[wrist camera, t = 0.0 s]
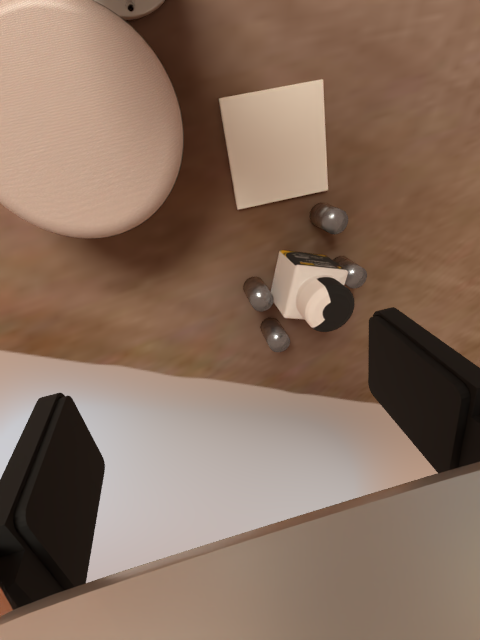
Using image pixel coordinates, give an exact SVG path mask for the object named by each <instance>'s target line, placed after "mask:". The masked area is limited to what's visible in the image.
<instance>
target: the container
mask: <svg viewBox="0 0 480 640" xmlns="http://www.w3.org/2000/svg"><path fill="white" fill-rule="evenodd" d="M183 149H184V130H183V120H182V115H181V109H180V105H179V102H178V98H177V95H176V92H175V90H174V87H173V84H172V82H171V80H170V78H169V76H168V74H167V72H166V70H165V68H164V66H163V64H162V63H161V61H160V60H159V58H158V56H157V55H156V54H155V52H154V51H153V49H152V48H151V47H150V45H149V44H148V43H147V42H146V41H145V40H144V38H143V37H142V36H141V35H140V34H139V33H138V32H137V31H136V30H135V29H134V28H133V27H132V26H131V25H130V24H129V23H128V22H126V21H125V20H124V19H123V18H121V17H120V16H119V15H117V14H116V13H115V12H113V11H112V10H110V9H108V8H107V7H105V6H104V5H102V4H100V3H98V2H96V1H94V0H0V203H1V204H2V205H3V206H5V207H6V208H7V209H8V210H10V211H11V212H13V213H14V214H15V215H17V216H18V217H20V218H22V219H24V220H25V221H27V222H29V223H31V224H33V225H35V226H37V227H39V228H41V229H44V230H47V231H50V232H52V233H56V234H59V235H64V236H68V237H75V238H87V239H93V238H104V237H111V236H115V235H118V234H122V233H124V232H127V231H129V230H131V229H133V228H135V227H137V226H139V225H141V224H142V223H143V222H145V221H146V220H148V219H149V218H150V217H151V216H152V215H153V214H155V213H156V212H157V210H158V209H159V208H160V207H161V206H162V205H163V203H164V202H165V201H166V199H167V198H168V196H169V195H170V193H171V191H172V189H173V187H174V185H175V183H176V180H177V178H178V174H179V171H180V168H181V163H182V158H183Z"/></svg>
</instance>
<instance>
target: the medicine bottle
mask: <svg viewBox="0 0 480 640" xmlns="http://www.w3.org/2000/svg"><path fill="white" fill-rule="evenodd" d="M347 275H348V271H347V270H346V269H344V268H343V267H341V266H340V265H339V264H337V263H336V262H334V261H333V260H331V259H330V258H328V257H327V256H325V255H318V254H310V253H301V252H293V251H285V250H281V251H280V252H279V255H278V260H277V265H276V269H275V274H274V278H273V283H272V288H271V293H272V295H273V297H274V301H273V302H274V304H275V305H276V306H277V308H278V309H279V311H280V312H281V314H282V315H283V316H284V318H292V319H305V320H306V322H307V323H308V324H309V325H310V326H311V327H312V328H313V329H315V330H317V331H321V332H329V331H333V330H335V329H338V328H339V327H341V326H342V325H344V324H345V323H346V322H347V321H348V319H349V318H350V316H351V315H352V312H353V309H354V297H353V295H352V293H351V292H350V290H349V289H348V288H346V287H345V286H344V284H345V281H346V278H347Z"/></svg>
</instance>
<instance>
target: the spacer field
mask: <svg viewBox="0 0 480 640" xmlns="http://www.w3.org/2000/svg"><path fill="white" fill-rule="evenodd" d="M310 220H311V222H312V223H313V224H314V225H316V226H318V227H320V228H321V229H323V230H325V231H327V232H329V233H331V234H339V233H341V232H342V231H343V230H344V229H345V228H346V226H347V224H348V216H347V214H346V212H345V211H343V210H341V209H339V208H336V207H333V206H331V205H328V204H325V203H318V204H316V205H315V206H313V208H312V209H311V211H310ZM333 261H334V262H336V263H337V264H339V265H340V266H341V267H343V268H344V269H346V270H347V271H348V275H347V278H346V281H345V284H346V285H347V286H349V287H350V288H358V287H360V286H362V285H363V284H364V282H365V281H366V278H367V272H366V270H365V269H364V268H362V267H361V266H359V265H357V264H356V263H354V262H353V261H351V260H349V259H348V258H346V257H344V256H339V257H336V258H335V259H334V260H333ZM243 290H244V292H245V294H246V296H247V298H248V299H249V301H250V303H251V305H252V307H253V308H254V309H255V310H257V311H266V310H268V309H269V308H270V307H271V306H272V304H273V301H274V297H273V295H272V293H271V292H270V291H269V289H268V288H267V286H266V285H265V284H264V282H263V281H262V280H261V279H260V278H258V277H251V278H249V279H247V280H246V281H245V283H244V285H243ZM260 329H261V332H262V334H263V335H264V337H265V339H266V341H267V343H268V345H269V347H270V348H271V350H272V351H274V352H282V351H284V350H286V349H287V348H288V346H289V344H290V338H289V337H288V335H287V334H286V332H285V331H284V329H283V327H282V326H281V324H280V323H279V321H278V320H277V319H275V318H267V319H265V320H264V321H263V322H262V323H261V326H260Z"/></svg>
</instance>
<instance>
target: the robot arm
mask: <svg viewBox="0 0 480 640" xmlns="http://www.w3.org/2000/svg"><path fill="white" fill-rule="evenodd" d="M94 1H96V2H98V3H100V4H102V5H104V6H105V7H107V8H108V9H110V10H112V11H113V12H115V13H116V14H117V15H119V16H120V17H121V18H123V19H124V20H132V19H138V18H141V17H144V16H147V15H149V14H150V13H152V12H153V11H155V10H156V9H158V8H159V7H160V6H161V5H162V4H163V3H164V1H165V0H94ZM129 6H132V7H133V8H134V10H133V11H132V12H131V11H129V10H128V7H129ZM368 383H369V388H370V391H371V393H372V394H373V396H374V397H375V398H376V399H377V401H378V402H379V403H380V404H381V405H382V407H383V408H384V409H385V410H386V411H387V413H388V414H389V415H390V416H391V417H392V419H393V420H394V421H395V422H396V423H397V424H398V425H399V427H400V428H401V429H402V430H403V432H404V433H405V434H406V435H407V436H408V438H409V439H410V440H411V441H412V442H413V444H414V445H415V446H416V447H417V448H418V449H419V451H420V452H421V453H422V454H423V456H424V457H425V458H426V459H427V460H428V461H429V463H430V464H431V465H432V466H433V467H434V469H435V470H436V471H437V472H438V474H434V475H431V476H427V477H424V478H421V479H418V480H414V481H411V482H408V483H405V484H402V485H398V486H395V487H392V488H388V489H385V490H381V491H378V492H375V493H372V494H368V495H365V496H362V497H359V498H355V499H352V500H349V501H346V502H342V503H339V504H335V505H333V506H329V507H326V508H323V509H320V510H316V511H313V512H310V513H306V514H303V515H300V516H297V517H294V518H290V519H287V520H284V521H281V522H277V523H274V524H271V525H268V526H265V527H261V528H258V529H255V530H252V531H249V532H245V533H242V534H239V535H235V536H232V537H229V538H226V539H223V540H219V541H216V542H213V543H210V544H207V545H204V546H200V547H197V548H194V549H191V550H188V551H185V552H182V553H179V554H176V555H172V556H169V557H166V558H163V559H159V560H156V561H153V562H150V563H147V564H144V565H141V566H137V567H134V568H131V569H128V570H125V571H122V572H119V573H116V574H113V575H110V576H107V577H104V578H101V579H98V580H95V581H92V582H89V583H86V578H87V572H88V566H89V560H90V554H91V548H92V542H93V536H94V529H95V524H96V518H97V512H98V506H99V500H100V494H101V488H102V483H103V477H104V470H105V464H104V460H103V457H102V455H101V453H100V451H99V449H98V447H97V445H96V444H95V442H94V440H93V438H92V436H91V434H90V432H89V430H88V428H87V426H86V424H85V422H84V420H83V418H82V417H81V415H80V413H79V411H78V409H77V407H76V405H75V403H74V402H73V399H72V398H71V397H70V396H64V395H63V394H62V393H57V394H53V395H49V396H46V397H42V398H39V399H38V401H37V403H36V405H35V407H34V409H33V411H32V414H31V416H30V418H29V420H28V422H27V424H26V426H25V429H24V431H23V433H22V435H21V437H20V439H19V441H18V443H17V445H16V448H15V450H14V452H13V454H12V456H11V458H10V460H9V462H8V465H7V467H6V469H5V471H4V473H3V475H2V478H1V479H0V640H480V368H479V367H477V366H476V365H475V364H473V363H472V362H470V361H469V360H468V359H466V358H465V357H463V356H462V355H461V354H459V353H458V352H456V351H455V350H454V349H452V348H451V347H449V346H448V345H447V344H445V343H444V342H442V341H441V340H440V339H438V338H437V337H435V336H434V335H432V334H431V333H430V332H428V331H427V330H425V329H424V328H423V327H421V326H420V325H418V324H417V323H416V322H414V321H413V320H411V319H410V318H409V317H407V316H406V315H404V314H403V313H402V312H400V311H399V310H397V309H396V308H394V307H393V308H388V309H384V310H380V311H376V312H375V313H374V315H373V317H371V318H370V320H369V379H368Z"/></svg>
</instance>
